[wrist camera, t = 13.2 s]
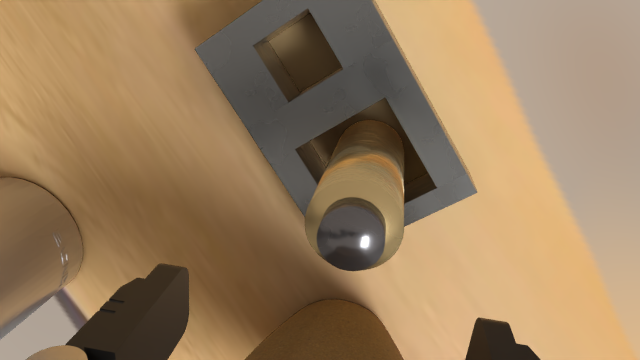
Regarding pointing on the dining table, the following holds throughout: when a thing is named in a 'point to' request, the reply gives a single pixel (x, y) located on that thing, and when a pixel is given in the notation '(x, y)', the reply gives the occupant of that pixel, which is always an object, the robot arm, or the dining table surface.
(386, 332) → the plant pot
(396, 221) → the spice shaker
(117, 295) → the robot arm
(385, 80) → the steel socket block
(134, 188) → the dining table surface
